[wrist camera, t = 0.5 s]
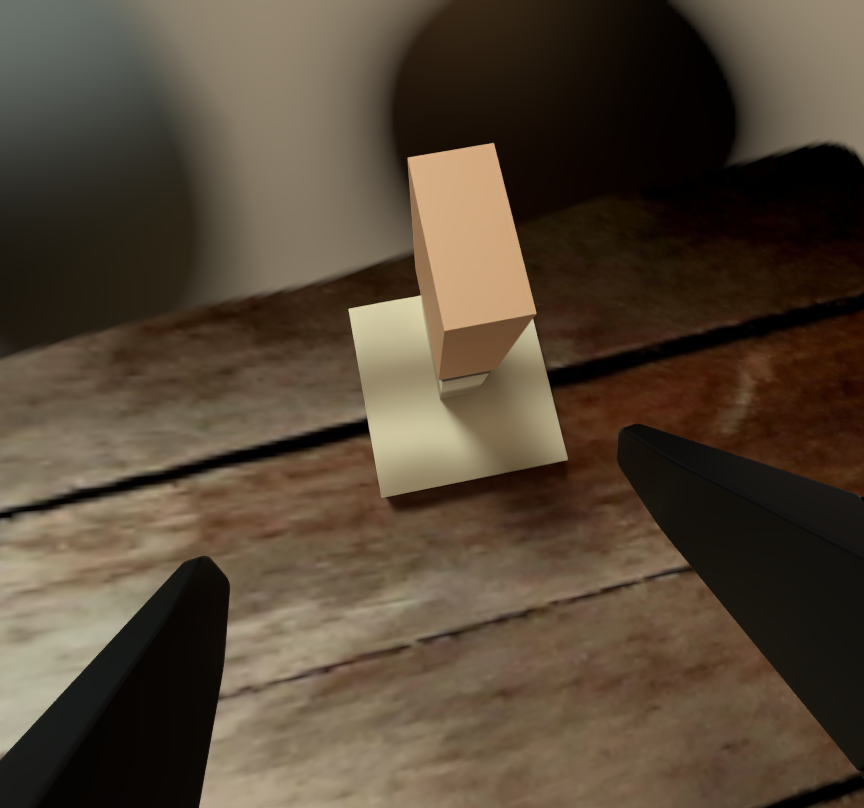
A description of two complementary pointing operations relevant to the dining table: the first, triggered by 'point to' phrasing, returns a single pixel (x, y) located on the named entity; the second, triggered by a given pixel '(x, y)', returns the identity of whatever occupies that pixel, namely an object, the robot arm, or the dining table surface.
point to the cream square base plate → (448, 405)
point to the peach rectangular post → (467, 260)
